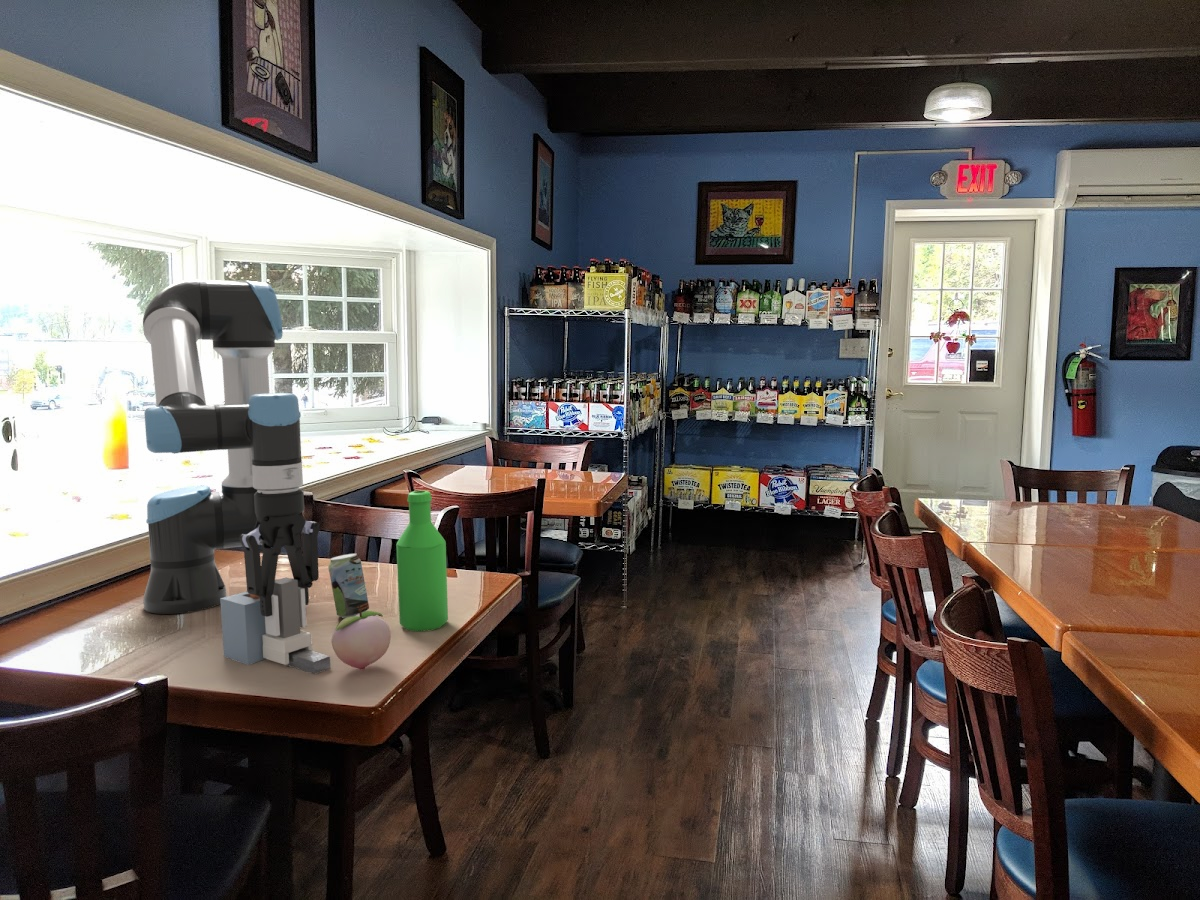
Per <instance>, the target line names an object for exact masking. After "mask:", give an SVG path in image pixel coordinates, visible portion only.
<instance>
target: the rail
mask: <svg viewBox="0 0 1200 900" xmlns="http://www.w3.org/2000/svg"><path fill="white" fill-rule="evenodd" d="M286 666H288V667H291V668H294V669H298V670H301V671H303V672H308V673H310V674H312V675H317V674H319V673H321V672H324V671H327V670H330V669H331V656H330V655H326V654H323V653H320V652H317V651H314V650H313V651H311V650H308V649H305V648H302V649H299V650H296V651H293V652H290V653H289V664H287V665H286Z"/></svg>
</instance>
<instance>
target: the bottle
mask: <svg viewBox="0 0 1200 900" xmlns="http://www.w3.org/2000/svg"><path fill="white" fill-rule="evenodd" d="M432 500H433V498H432V495H431V492H430V491H428V490H414V491H410V492H408V495H407V502H408V514H409V518H408V519H409V523H408V524H407V526H406V528H405V529H404V530H403V532H402V534H401V536H400V537H399V539H398V540H397V542H396V567H397V569H396V570H397V591H398V593H397V594H398V616H399V625H400V626H402V627H403V628H404V629H405V630H408V631H411V632H428V631H434V630H436V629H440V628H441V627H443V626H444V625H445V624H446V623H447V621H448V620H449V611H448V610H449V608H448V607H449V606H448V578H447V577H448V574H447V573H448V572H447V546H446V545H447V543H446V540H445V539H444V537H443V536H442V534H441V533H440V532H439V530H438V529H437V528H436V526H435V524H433V522H432V510H431V509H432V508H431V502H432Z"/></svg>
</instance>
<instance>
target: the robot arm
mask: <svg viewBox="0 0 1200 900" xmlns="http://www.w3.org/2000/svg"><path fill="white" fill-rule="evenodd" d="M142 329H143V330H142V332H143V335H144V338H145V340H147V342H148V343H149V344H150V349H151V360H152V362H151V363H152V371H153V383H154V394H155V404H156V406H153V407H148V408H145V410H144V426H145V427H144V428H145V439H146V448H147V450H148V451H149V452H151V453H154V454H162V453H163V454H165V453H166V454H169V453H170V454H173V455H174V454H180V453H192V452H206V451H222V450H223V451H224V450H226V451H227V460H228V461H227V462H228V475H227V476H226V477H225V478H224V479H223V481H221V491H215V492H212V489H211V488H210V486H208V485H197V486H196V485H193V486H186V487H180V488H176V489H172V490H168V491H164V492H161V493H158V494H155V495H153V496H152V497H151V498H150V499H149V500H148V501H147V504H146V505H147V506H146V507H147V508H146V510H147V511H146V513H147V515H146V516H147V518H146V524H147V525H148V526H147V527H148V541H149V542H148V543H149V558H150V560H149V561H150V573H149V577H148V581H147V583H146V587H145V591H144V594H143V609H144V611H145V612H147V613H151V614H159V615H174V614H186V613H187V614H188V613H193V612H198V611H202V610H206V609H207V610H208V609H211V608H213V607H216V606H218V605H221V604H220V598H223V597H227V596H228V595H227V587H226V585H225V582H224V581H223V578H222V576H221V573H220V571H219V569H218V566H217V564H216V560H215V550H220V549H221V550H222V549H229V548H239V547H240V548H241V547H242V548H243V555H244V567H245V580H246V591H247V592H248V593H249V594H253V595H256V596H259V597H260V611H261V615H262V616H265V626H266V633H267V634H270V635H273V636H279V635H280V626H279V608H278V596H277V595H273V591H274V583H275V580H276V575H277V568H278V567H277V566H278V560H279V556H280V555H281V552H282V548H284V550H285V551H286V555H287V559H288V563H289V567H290V569H291V574H292V579H295V580H298V599H299V618H300V628H302V629H304V628H306V627H307V625H308V623H307V610H306V609H307V608H306V607H307V606H309V603H310V597H309V596H310V595H309V594H310V593H309V589H310V588H312V587H313V584H314V583H313V582H317V581H318V580H319V576H320V575H319V549H318V542H319V541H318V537H319V532H320V527H321V523H319V522H316V521H311V520H306V517H305V516H304V514H303V513H304V511H305V498H304V496H305V495H304V493H305V492H304V491H303V489H302V488H301V487H302V486H303V485H304V480H303V462H302V461H303V459H302V445H301V444H302V443H301V420H300V419H301V416H302V415H301V411H300V407H299V399H298V396H297V395H295V394H294V393H287V392H274V393H273V392H271V393H270V377H269V364H268V363H269V360H268V359H269V355H270V354H271V353H272V352H273V351H274V350H275V349H276V342H275V341H279V340H281V339H282V338H283V334H284V333H283V322H282V316H281V310H280V304H279V302H278V297H277V294H276V292H275V290H274V288H273V287H272V285H270V284H269V283H267V282H261V281H254V280H253V281H251V280H213V279H209V280H207V279H205V280H202V279H188V280H181V281H178V282H176V283H173V284H171V285H169V286H167V287H165V288H164V289H163V290H161V291H160V292H158V293H157V294H156V296H154V297H153V298H152V299H151V301H150V302H149V303H148V305H147V307H146V309H145V311H144V314H143V319H142ZM198 340H202V341H203V340H211V341H212V349H213V350H214V351H215V352H216V353H217V354H218V355H219V356H220V357H221V361H222V374H223V375H222V377H223V380H222V381H223V392H224V393H223V395H224V404H207V403H206V397H205V391H204V383H203V377H202V370H201V363H200V358H199V352H198V344H197V342H198ZM301 533H302V537H301V536H300V535H301ZM301 538H302V540H301ZM260 546H261V550H260ZM261 553H262V556H261ZM261 557H262V558H261Z"/></svg>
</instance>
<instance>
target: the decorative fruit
mask: <svg viewBox="0 0 1200 900" xmlns="http://www.w3.org/2000/svg"><path fill="white" fill-rule="evenodd" d="M359 611H360V614H358V615H356V616H353V617H347V618H342V620H341V621H340V622H339V623H338V625H337V627H336V628H335V630H334V631H333V634H332V637H331V646H332V650H333V652H334V654H335V656H336V657H337V658H338V659H339V660H340V661H341V662H343V663H344V664H345V665H347V666H349V667H352V668H355V669H358V670H362V671H364V670H365V668H367V667H368V666H370V665H372V664H374V663H375V662H377V661H378V660H380V659H381V658H382V657H384V656H385V654H386V653H387V651H388V649H389V647H390V644H391V637H392V636H391V629H390V626H389V625H388V623H387V622H386V620H384V619H383V618H381V617H383V614H382V613H381V612H379V611H377V610H376V611H375V610H366V612H363V613H362V609H361V608H360V609H359Z"/></svg>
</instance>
